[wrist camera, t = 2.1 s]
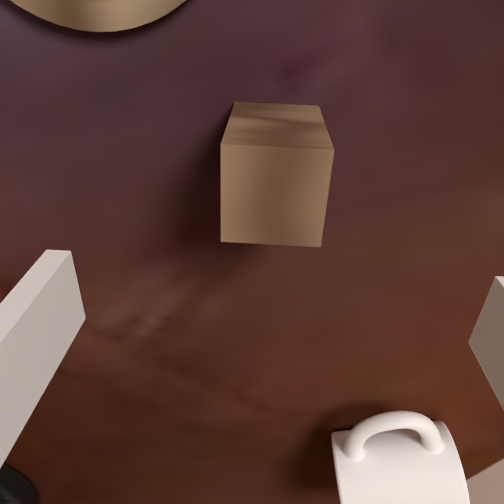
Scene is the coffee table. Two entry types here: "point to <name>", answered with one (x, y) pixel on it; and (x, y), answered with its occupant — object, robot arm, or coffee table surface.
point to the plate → (99, 12)
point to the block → (275, 174)
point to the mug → (398, 462)
